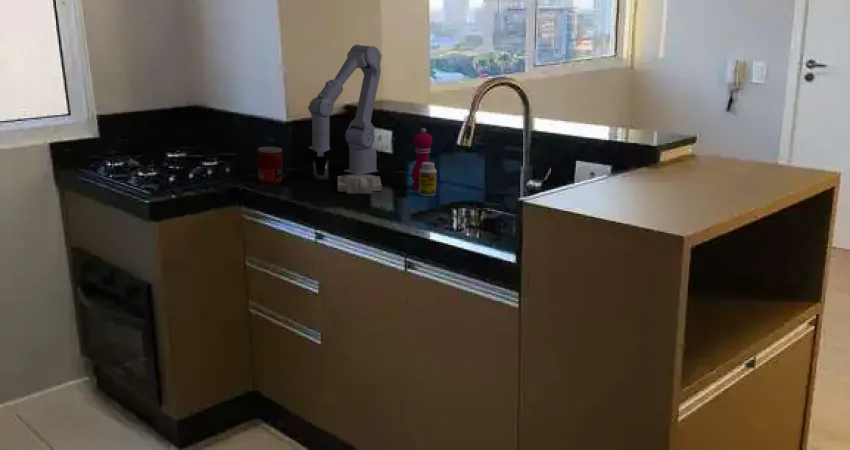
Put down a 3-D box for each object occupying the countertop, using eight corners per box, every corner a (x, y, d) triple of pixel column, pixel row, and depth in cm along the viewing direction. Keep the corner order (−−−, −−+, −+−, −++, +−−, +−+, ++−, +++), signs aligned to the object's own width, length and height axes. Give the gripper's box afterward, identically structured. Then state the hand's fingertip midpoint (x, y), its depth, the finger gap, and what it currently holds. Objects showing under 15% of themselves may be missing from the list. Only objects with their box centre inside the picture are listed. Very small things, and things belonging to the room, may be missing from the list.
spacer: (321, 175, 282) (321, 158, 280) (331, 178, 279) (331, 161, 277) (310, 177, 278) (310, 160, 277) (320, 180, 275) (320, 162, 274)
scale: (337, 181, 274) (338, 166, 272) (379, 182, 275) (379, 166, 274) (337, 193, 258) (337, 177, 256) (381, 193, 259) (382, 177, 258)
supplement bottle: (418, 196, 257) (419, 164, 254) (418, 192, 263) (419, 161, 260) (436, 196, 257) (437, 165, 255) (435, 192, 263) (436, 161, 260)
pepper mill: (430, 191, 264) (432, 130, 259) (408, 190, 265) (410, 128, 260) (434, 187, 271) (436, 127, 265) (413, 185, 272) (414, 125, 267)
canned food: (280, 184, 268) (279, 151, 265) (256, 183, 268) (255, 150, 265) (284, 179, 275) (284, 147, 272) (261, 178, 275) (260, 146, 272)
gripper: (309, 130, 281) (310, 168, 285) (307, 137, 267) (308, 177, 271) (330, 130, 282) (330, 169, 285) (329, 137, 268) (329, 178, 271)
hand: (321, 173), depth 278 cm, fingers closed on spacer, 5 cm apart
